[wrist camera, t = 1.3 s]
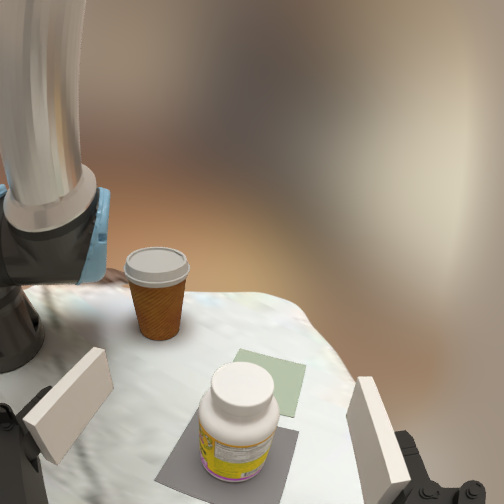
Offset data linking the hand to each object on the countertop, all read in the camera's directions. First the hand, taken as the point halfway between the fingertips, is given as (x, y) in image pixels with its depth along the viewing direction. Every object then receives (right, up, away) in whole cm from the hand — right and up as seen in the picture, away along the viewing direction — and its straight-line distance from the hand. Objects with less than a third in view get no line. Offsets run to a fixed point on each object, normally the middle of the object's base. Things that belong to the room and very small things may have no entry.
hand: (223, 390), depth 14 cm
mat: (+3, -10, +24) cm, 26 cm away
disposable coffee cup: (-13, -5, +31) cm, 34 cm away
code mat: (-1, -14, +12) cm, 19 cm away
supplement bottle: (-1, -15, +12) cm, 19 cm away
